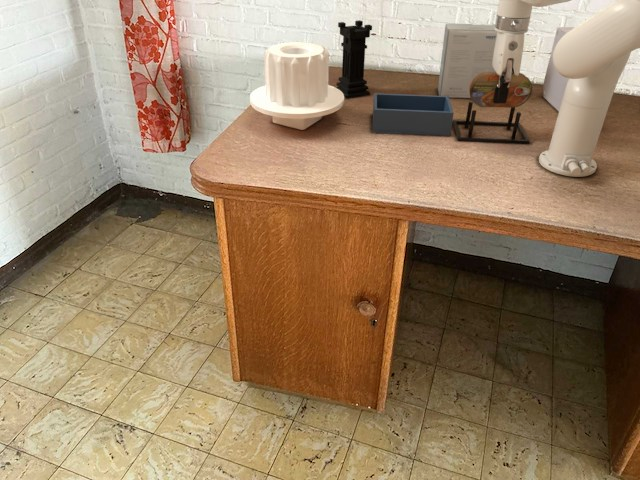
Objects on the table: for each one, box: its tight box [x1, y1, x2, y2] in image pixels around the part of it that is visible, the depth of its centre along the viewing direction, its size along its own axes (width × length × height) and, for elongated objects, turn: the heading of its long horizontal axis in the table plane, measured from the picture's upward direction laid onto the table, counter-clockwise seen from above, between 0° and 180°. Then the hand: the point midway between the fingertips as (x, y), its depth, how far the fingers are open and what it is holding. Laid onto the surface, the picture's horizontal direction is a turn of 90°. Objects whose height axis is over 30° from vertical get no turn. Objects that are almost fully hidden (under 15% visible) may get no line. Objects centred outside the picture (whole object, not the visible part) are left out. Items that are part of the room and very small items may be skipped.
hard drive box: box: [437, 23, 498, 99], centre depth 160 cm, size 16×8×20 cm, turn 84°
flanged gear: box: [249, 41, 345, 131], centre depth 142 cm, size 25×25×19 cm
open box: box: [371, 92, 454, 137], centre depth 144 cm, size 12×20×6 cm, turn 85°
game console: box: [542, 26, 576, 112], centre depth 150 cm, size 6×27×20 cm, turn 2°
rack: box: [452, 101, 530, 145], centre depth 140 cm, size 12×18×7 cm, turn 85°
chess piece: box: [334, 19, 373, 99], centre depth 161 cm, size 8×8×20 cm
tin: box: [469, 72, 533, 109], centre depth 135 cm, size 15×3×8 cm, turn 85°
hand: (498, 99), depth 136 cm, fingers closed on tin, 2 cm apart
